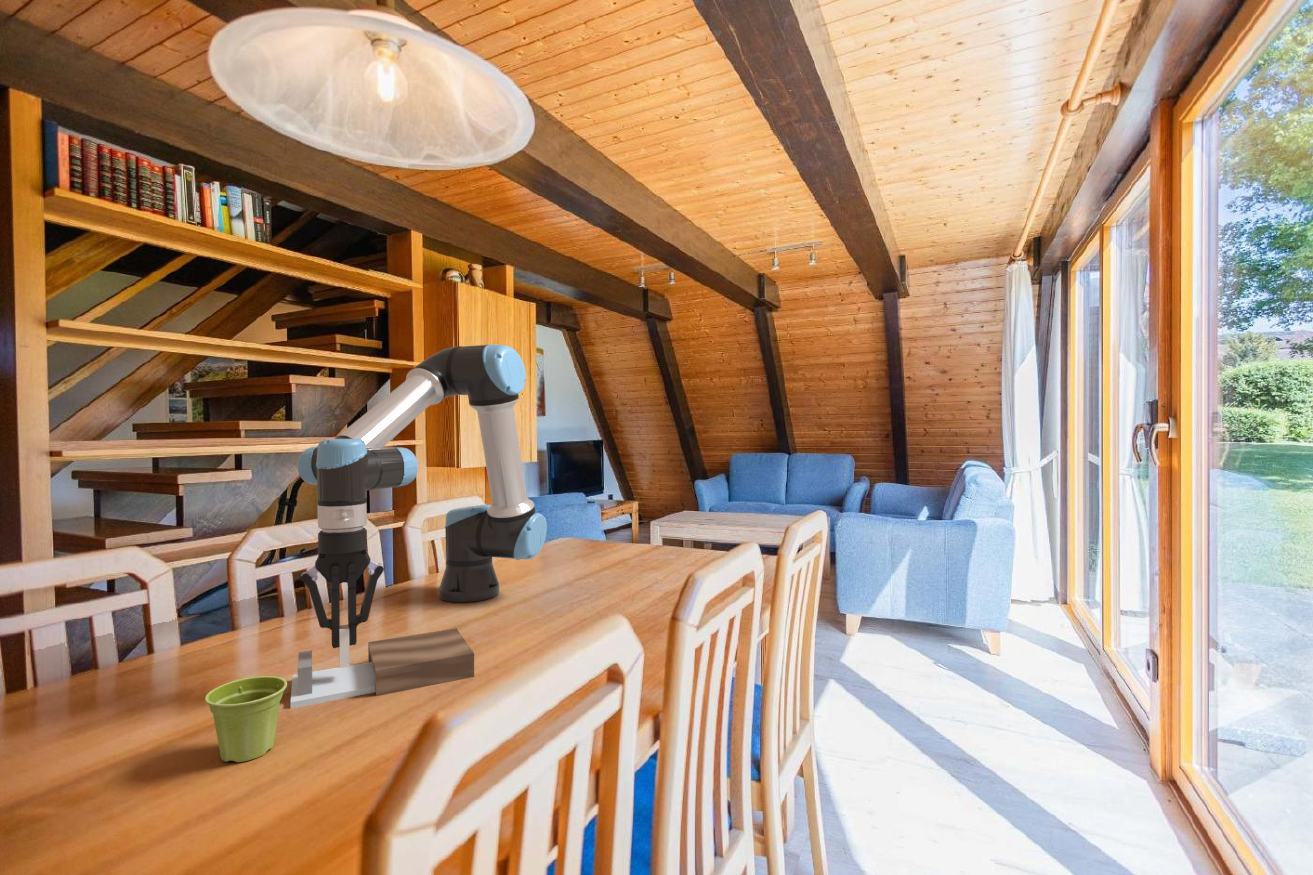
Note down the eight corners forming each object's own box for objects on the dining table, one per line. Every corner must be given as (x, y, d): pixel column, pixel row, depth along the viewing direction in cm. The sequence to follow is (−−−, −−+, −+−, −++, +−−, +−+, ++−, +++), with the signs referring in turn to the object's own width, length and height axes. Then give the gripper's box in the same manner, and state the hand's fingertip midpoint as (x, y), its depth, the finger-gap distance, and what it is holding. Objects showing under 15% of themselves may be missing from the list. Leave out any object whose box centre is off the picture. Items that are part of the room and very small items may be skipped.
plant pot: (277, 727, 92) (276, 670, 92) (296, 752, 86) (295, 689, 85) (200, 751, 86) (199, 689, 86) (213, 779, 79) (212, 711, 79)
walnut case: (368, 664, 116) (368, 642, 116) (456, 649, 124) (456, 628, 124) (376, 695, 103) (375, 670, 103) (474, 676, 111) (474, 653, 111)
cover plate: (292, 683, 109) (292, 649, 109) (436, 658, 121) (435, 627, 121) (290, 711, 99) (290, 674, 98) (447, 681, 110) (447, 647, 110)
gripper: (298, 535, 100) (300, 680, 101) (386, 528, 107) (387, 664, 107) (299, 528, 107) (301, 664, 108) (381, 522, 113) (383, 650, 114)
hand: (344, 664), depth 107 cm, fingers closed
